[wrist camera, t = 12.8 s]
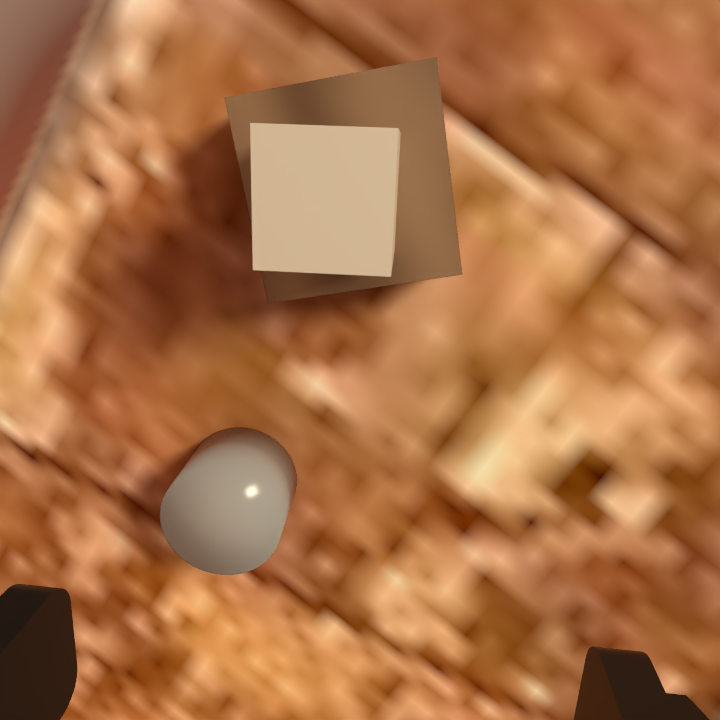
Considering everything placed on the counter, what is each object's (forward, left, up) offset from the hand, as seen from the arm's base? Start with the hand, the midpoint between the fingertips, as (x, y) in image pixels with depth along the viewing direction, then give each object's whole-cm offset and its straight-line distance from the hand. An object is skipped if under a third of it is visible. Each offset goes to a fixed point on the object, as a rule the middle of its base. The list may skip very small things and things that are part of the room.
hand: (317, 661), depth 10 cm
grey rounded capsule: (+8, +11, -26) cm, 29 cm away
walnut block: (+2, -6, -26) cm, 27 cm away
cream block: (+2, -6, -21) cm, 22 cm away
